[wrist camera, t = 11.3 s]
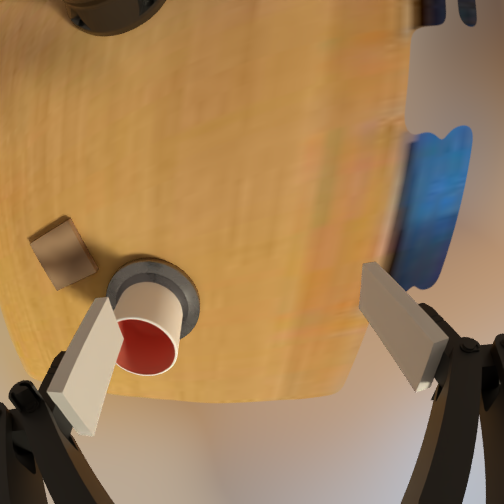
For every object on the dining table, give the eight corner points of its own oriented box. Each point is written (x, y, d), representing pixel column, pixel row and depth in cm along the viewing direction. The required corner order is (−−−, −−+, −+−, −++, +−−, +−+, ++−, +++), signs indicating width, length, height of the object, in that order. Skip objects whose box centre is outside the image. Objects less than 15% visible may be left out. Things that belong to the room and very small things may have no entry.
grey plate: (97, 264, 43) (93, 269, 42) (190, 251, 44) (189, 256, 42) (124, 341, 49) (122, 347, 48) (207, 333, 50) (207, 340, 48)
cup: (196, 304, 46) (193, 347, 36) (160, 342, 48) (151, 386, 39) (142, 265, 42) (125, 302, 33) (109, 308, 44) (90, 348, 35)
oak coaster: (33, 241, 40) (29, 244, 39) (70, 218, 40) (67, 220, 39) (59, 287, 44) (57, 290, 43) (98, 268, 43) (96, 272, 42)
